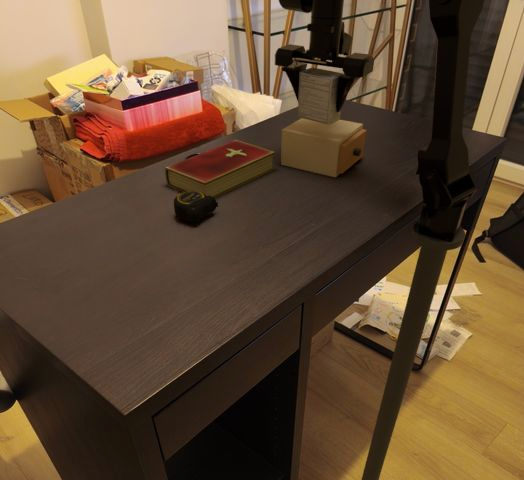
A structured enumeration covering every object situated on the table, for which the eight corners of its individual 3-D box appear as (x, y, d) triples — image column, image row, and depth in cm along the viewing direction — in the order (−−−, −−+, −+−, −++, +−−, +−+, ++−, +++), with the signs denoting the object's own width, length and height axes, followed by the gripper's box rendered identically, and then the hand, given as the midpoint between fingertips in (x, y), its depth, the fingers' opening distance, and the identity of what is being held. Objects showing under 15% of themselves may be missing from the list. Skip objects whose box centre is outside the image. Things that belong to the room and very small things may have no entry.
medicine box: (340, 120, 98) (345, 73, 93) (328, 126, 96) (332, 78, 90) (309, 112, 102) (312, 66, 96) (296, 117, 100) (299, 70, 94)
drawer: (367, 157, 109) (371, 130, 105) (347, 174, 102) (350, 147, 98) (314, 145, 114) (316, 120, 110) (291, 161, 107) (292, 135, 103)
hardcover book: (166, 185, 100) (164, 165, 97) (235, 156, 112) (234, 137, 109) (206, 202, 94) (204, 181, 92) (274, 169, 106) (274, 150, 103)
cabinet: (358, 158, 111) (363, 123, 106) (335, 177, 103) (339, 141, 98) (306, 147, 116) (308, 113, 111) (280, 164, 108) (281, 129, 103)
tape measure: (195, 228, 87) (193, 209, 84) (167, 218, 90) (165, 199, 87) (219, 214, 91) (217, 195, 88) (191, 204, 94) (190, 186, 91)
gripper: (390, 14, 89) (376, 105, 99) (301, 6, 96) (297, 91, 106) (368, 24, 82) (356, 120, 92) (273, 14, 89) (272, 105, 99)
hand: (319, 108), depth 98 cm, fingers closed on medicine box, 8 cm apart
